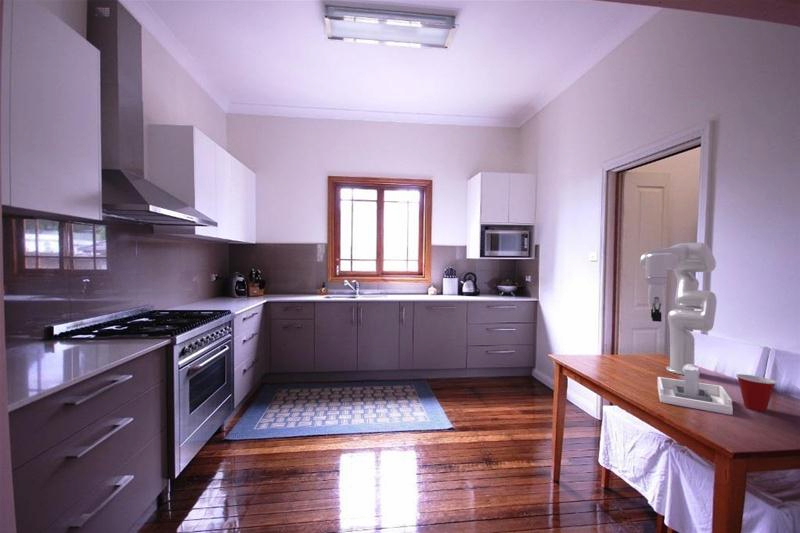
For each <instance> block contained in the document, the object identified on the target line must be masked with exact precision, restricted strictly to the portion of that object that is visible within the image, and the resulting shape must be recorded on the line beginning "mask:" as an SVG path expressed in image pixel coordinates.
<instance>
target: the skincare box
mask: <svg viewBox="0 0 800 533" xmlns="http://www.w3.org/2000/svg"><path fill="white" fill-rule="evenodd" d="M699 370H700V367H698V366H697V367H691V366H686V368H685V375H683V378H684V379H683V381H684V394H688V395H694V396H699V383H700V374H699Z"/></svg>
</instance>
